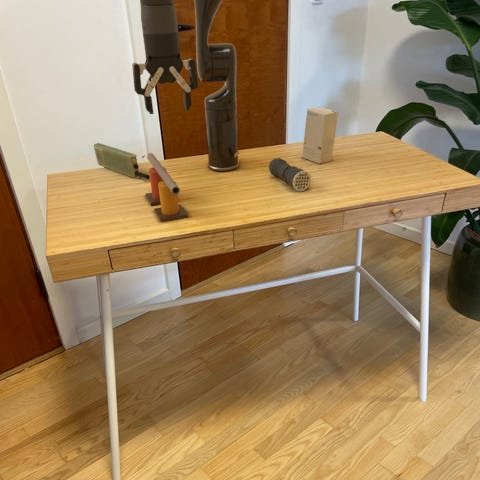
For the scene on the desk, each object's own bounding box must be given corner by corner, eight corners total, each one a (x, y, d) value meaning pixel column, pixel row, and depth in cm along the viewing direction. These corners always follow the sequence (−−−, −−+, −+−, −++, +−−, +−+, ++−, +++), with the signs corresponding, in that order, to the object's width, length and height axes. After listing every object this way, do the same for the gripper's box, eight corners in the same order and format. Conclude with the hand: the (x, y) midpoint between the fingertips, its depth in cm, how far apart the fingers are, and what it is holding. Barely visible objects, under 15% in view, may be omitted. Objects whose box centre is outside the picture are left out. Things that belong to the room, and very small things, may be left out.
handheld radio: (105, 162, 150) (153, 179, 136) (96, 165, 148) (144, 183, 134) (100, 141, 146) (149, 157, 132) (91, 144, 144) (140, 160, 130)
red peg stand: (145, 196, 126) (141, 167, 121) (170, 192, 128) (167, 163, 123) (151, 205, 121) (146, 175, 116) (176, 201, 123) (173, 171, 118)
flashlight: (266, 176, 137) (266, 157, 133) (282, 173, 138) (283, 154, 135) (293, 192, 125) (294, 173, 122) (310, 189, 127) (311, 169, 124)
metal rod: (172, 195, 105) (171, 187, 104) (147, 160, 125) (146, 153, 124) (180, 194, 106) (179, 185, 104) (154, 159, 126) (153, 152, 125)
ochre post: (154, 211, 118) (149, 180, 113) (180, 206, 120) (177, 176, 115) (160, 222, 113) (156, 190, 108) (188, 217, 114) (184, 185, 110)
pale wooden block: (301, 158, 149) (304, 108, 140) (315, 154, 152) (318, 105, 143) (320, 164, 144) (324, 113, 135) (333, 160, 146) (338, 110, 138)
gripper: (188, 26, 102) (194, 104, 112) (124, 30, 99) (136, 111, 109) (197, 29, 97) (202, 111, 107) (129, 34, 93) (141, 118, 103)
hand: (169, 111), depth 108 cm, fingers open, 8 cm apart
